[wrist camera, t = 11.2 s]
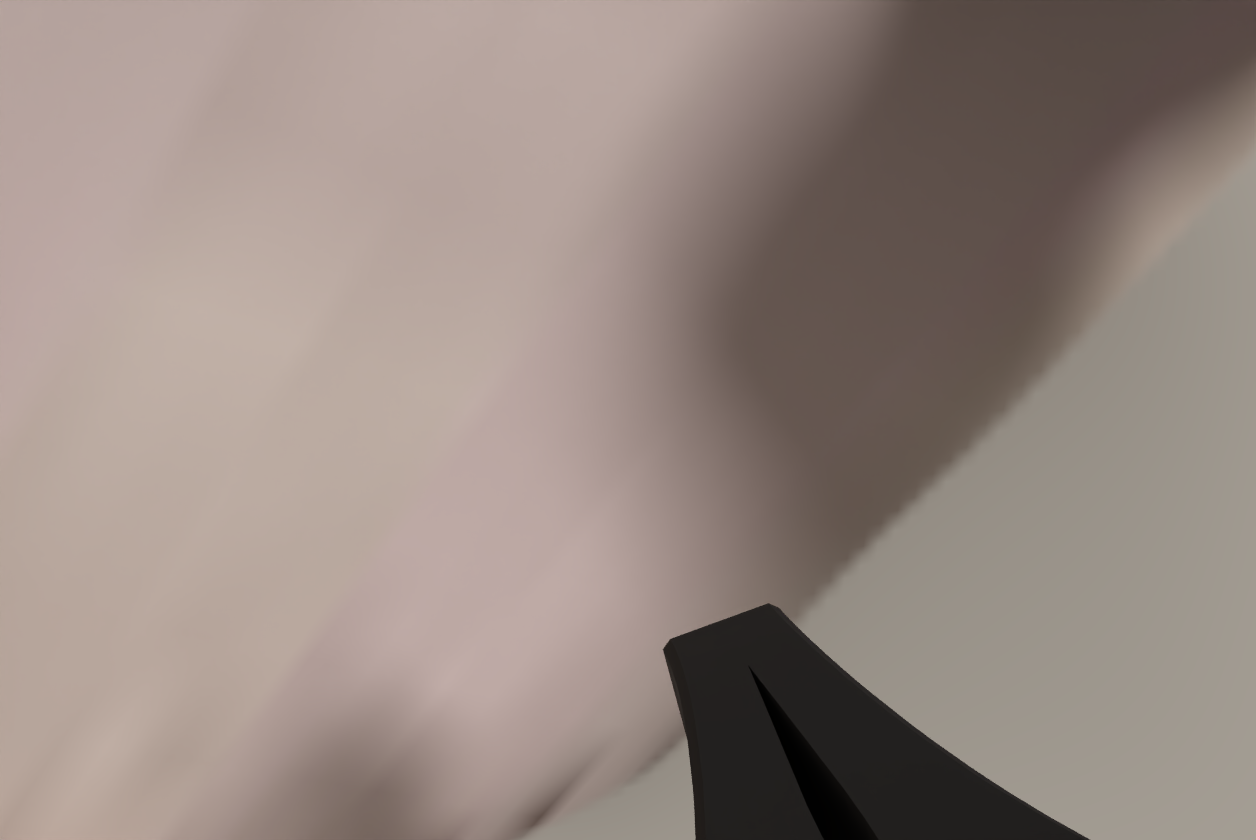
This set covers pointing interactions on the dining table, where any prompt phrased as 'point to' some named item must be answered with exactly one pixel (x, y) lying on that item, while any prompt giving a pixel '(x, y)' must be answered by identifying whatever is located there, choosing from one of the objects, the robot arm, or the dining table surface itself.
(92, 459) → the dining table surface
